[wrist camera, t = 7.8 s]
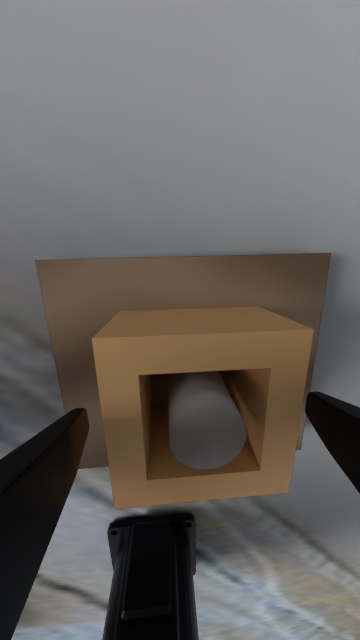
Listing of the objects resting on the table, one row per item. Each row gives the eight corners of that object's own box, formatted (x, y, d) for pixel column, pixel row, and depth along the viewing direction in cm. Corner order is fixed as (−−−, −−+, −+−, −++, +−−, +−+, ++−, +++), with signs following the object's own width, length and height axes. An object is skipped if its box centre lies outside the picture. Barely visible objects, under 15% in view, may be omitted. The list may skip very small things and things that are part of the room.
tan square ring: (249, 421, 12) (288, 492, 8) (131, 429, 12) (114, 509, 8) (258, 306, 10) (313, 329, 7) (120, 311, 10) (91, 338, 6)
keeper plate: (287, 431, 14) (368, 540, 9) (85, 447, 14) (26, 581, 8) (309, 254, 11) (458, 241, 6) (52, 261, 11) (-84, 253, 5)
